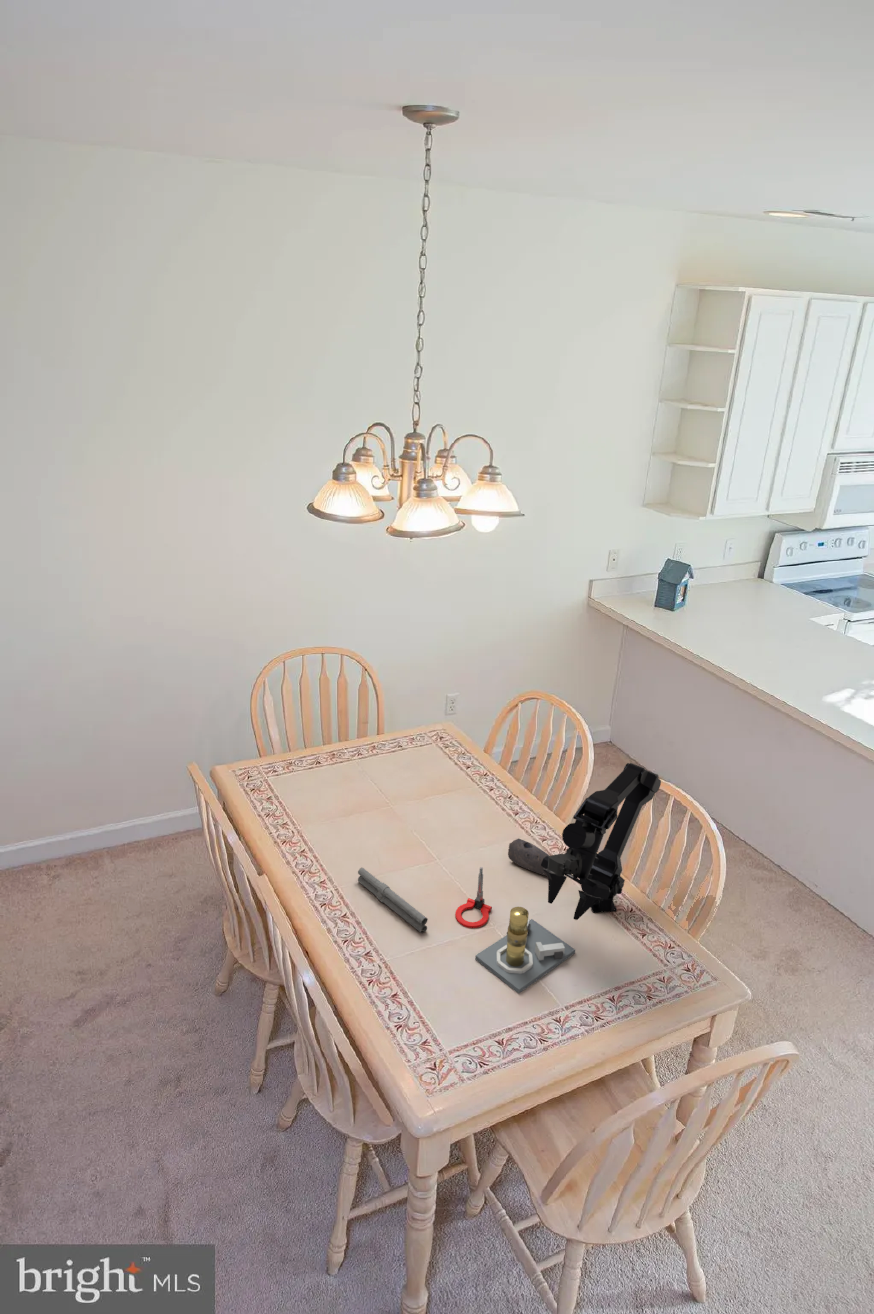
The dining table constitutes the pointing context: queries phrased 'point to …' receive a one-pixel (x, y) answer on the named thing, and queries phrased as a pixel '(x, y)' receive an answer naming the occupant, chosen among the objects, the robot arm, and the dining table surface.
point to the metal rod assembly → (393, 900)
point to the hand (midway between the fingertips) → (562, 911)
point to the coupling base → (526, 957)
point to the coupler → (517, 936)
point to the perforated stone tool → (527, 855)
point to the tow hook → (477, 903)
